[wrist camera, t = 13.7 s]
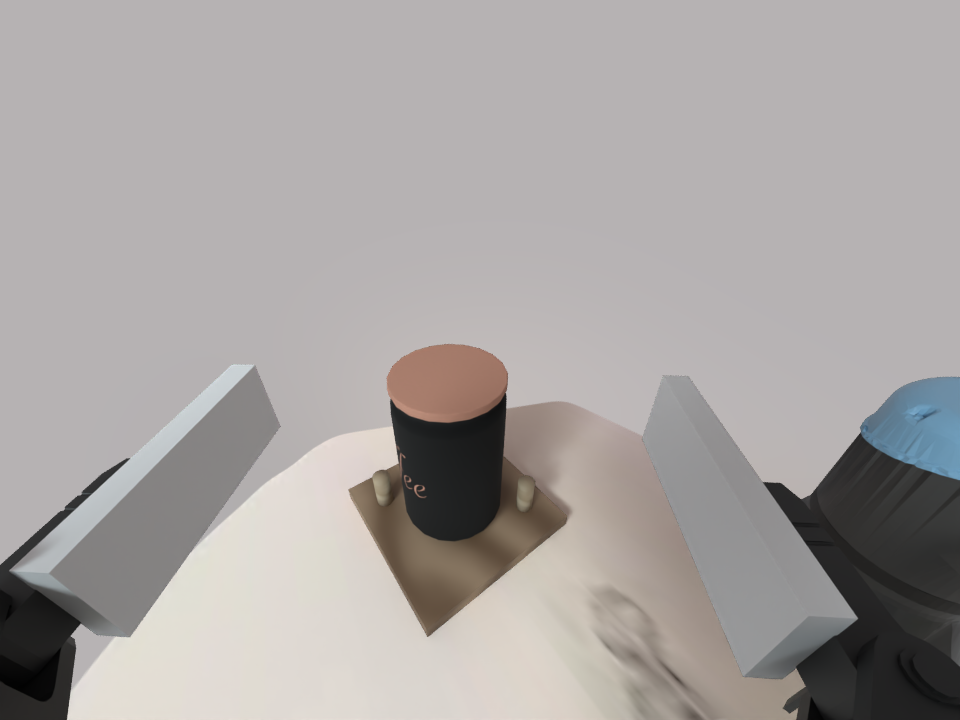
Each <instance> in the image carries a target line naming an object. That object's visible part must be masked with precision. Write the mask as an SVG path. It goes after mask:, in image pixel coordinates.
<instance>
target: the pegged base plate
mask: <svg viewBox="0 0 960 720" xmlns="http://www.w3.org/2000/svg"><path fill="white" fill-rule="evenodd" d="M349 493H350V496H351V499H352V501H353V502H354V504H355V506H356V508H357V510H358V511H359V513H360V515H361V517H362V519H363V521H364V522H365V524H366V526H367V528H368V530H369V531H370V533H371V535H372V537H373V539H374V540H375V542H376V544H377V546H378V548H379V550H380V551H381V553H382V555H383V557H384V559H385V560H386V562H387V564H388V566H389V568H390V570H391V571H392V573H393V575H394V577H395V579H396V580H397V582H398V584H399V586H400V588H401V589H402V591H403V593H404V595H405V597H406V599H407V600H408V602H409V604H410V606H411V608H412V609H413V611H414V613H415V615H416V617H417V618H418V620H419V622H420V624H421V626H422V628H423V629H424V631H425V633H426V635H427V637H428V636H430V635H431V634H432V633H433V632H434V631H436V630H437V629H438V628H439V627H440V626H442V625H443V624H444V623H445V622H447V621H448V620H449V619H450V618H451V617H453V616H454V615H455V614H456V613H458V612H459V611H460V610H461V609H462V608H464V607H465V606H466V605H467V604H469V603H470V602H471V601H472V600H473V599H475V598H476V597H477V596H478V595H479V594H481V593H482V592H483V591H484V590H486V589H487V588H488V587H489V586H490V585H492V584H493V583H494V582H495V581H497V580H498V579H499V578H500V577H501V576H503V575H504V574H505V573H506V572H507V571H509V570H510V569H511V568H512V567H514V566H515V565H516V564H517V563H518V562H520V561H521V560H522V559H523V558H525V557H526V556H527V555H528V554H529V553H531V552H532V551H533V550H534V549H535V548H537V547H538V546H539V545H540V544H542V543H543V542H544V541H545V540H546V539H548V538H549V537H550V536H551V535H553V534H554V533H555V532H556V531H557V530H559V529H560V528H561V527H562V526H564V525H565V524H566V519H567V515H566V514H565V513H564V512H563V511H561V510H560V509H559V508H558V507H557V506H556V505H555V504H554V503H553V502H552V501H551V500H550V499H549V498H548V497H547V496H545V495H544V494H543V493H542V492H541V491H540V490H539V489H538V488H537V487H536V486H535V481H534V479H533V478H532V477H530V476H527V475H525V476H524V475H523V474H522V473H521V472H520V471H519V470H518V469H517V468H516V467H515V466H513V465H512V464H511V463H510V462H509V461H508V460H507V459H506V458H505V457H504V456H503V466H502V482H501V498H500V507H499V509H498V511H497V514H496V516H495V518H494V519H493V521H492V522H491V523H490V524H489V525H488V526H487V527H486V528H485V529H484V530H483V531H482V532H480V533H478V534H476V535H475V536H473V537H471V538H468V539H464V540H459V541H455V542H454V541H442V540H437V539H435V538H432V537H430V536H427V535H425V534H424V533H423V532H421V531H420V530H419V529H418V528H417V527H416V526H415V525H414V524H413V523H412V521H411V519H410V517H409V515H408V513H407V511H406V505H405V498H404V492H403V486H402V480H401V473H400V467H399V464H397V465H395V466H393V467H391V468H389V469H387V470H379V471H377V472H375V473H374V474H373V477H372V478H370V479H368V480H366V481H364V482H362V483H360V484H358V485H356V486H354V487H353V488H351V489H349Z"/></svg>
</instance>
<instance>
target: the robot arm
mask: <svg viewBox="0 0 960 720" xmlns="http://www.w3.org/2000/svg"><path fill="white" fill-rule="evenodd" d="M279 428H280V424H279V422H278V419H277V417H276V414H275V412H274V409H273V407H272V405H271V402H270V400H269V398H268V395H267V393H266V390H265V388H264V385H263V383H262V381H261V379H260V376H259V374H258V371H257V369H256V366H255V365H235V364H232V365H231V366H230V367H229V368H228V369H227V370H226V371H225V372H224V373H223V374H222V375H221V376H219V378H217V379H216V380H215V381H214V382H213V383H212V384H211V385H210V386H209V387H207V389H205V390H204V391H203V392H202V393H201V394H200V395H199V396H198V397H197V398H196V399H194V401H192V402H191V403H190V404H189V405H188V406H187V407H186V408H185V409H184V410H183V411H182V412H180V413H179V414H178V415H177V416H176V417H175V418H174V419H173V420H172V421H171V422H170V423H169V424H168V425H166V426H165V427H164V428H163V429H162V430H161V431H160V432H159V433H158V434H157V435H156V436H154V437H153V438H152V439H151V440H150V441H149V442H148V443H147V444H146V445H145V446H144V447H143V448H141V449H140V450H139V451H138V452H137V453H136V454H135V455H134V456H133V457H132V458H131V459H130V458H129V459H125V460H124V461H122V462H120V463H119V464H117V465H116V466H114V467H112V468H111V469H109V470H107V471H106V472H104V473H103V474H101V475H100V476H99V477H98V478H97V479H96V480H95V481H93V482H92V483H91V484H90V485H89V486H88V487H87V488H86V489H85V490H83V492H82V495H80V496H77V497H76V498H75V499H74V500H72V501H71V502H70V503H69V504H68V505H67V506H66V507H65V510H64V511H60V512H59V513H58V514H57V515H56V516H54V517H53V518H52V519H51V520H50V521H49V522H48V523H47V524H45V525H44V526H43V527H42V528H41V529H40V530H39V531H38V532H37V533H35V534H34V535H33V536H32V537H31V538H30V539H29V540H28V541H27V542H25V543H24V545H22V546H21V547H20V548H19V549H18V550H17V551H15V552H14V553H13V554H12V555H11V556H10V557H9V558H8V559H6V560H5V561H4V562H3V563H2V564H1V565H0V720H67V714H68V707H69V699H70V691H71V683H72V675H73V668H74V660H75V652H76V645H75V639H74V638H72V637H71V635H72V633H73V632H74V631H75V630H76V628H77V627H78V626H79V625H80V624H83V625H84V626H85V627H87V628H88V629H89V630H91V631H92V632H93V633H95V634H96V635H104V636H118V637H130V636H131V635H132V634H133V632H134V631H135V629H136V628H137V627H138V625H139V624H140V622H141V621H142V620H143V618H144V617H145V615H146V614H147V613H148V611H149V610H150V608H151V607H152V606H153V604H154V603H155V601H156V600H157V599H158V597H159V596H160V594H161V593H162V592H163V590H164V589H165V587H166V586H167V585H168V583H169V582H170V580H171V579H172V578H173V576H174V575H175V573H176V572H177V571H178V569H179V568H180V566H181V565H182V564H183V562H184V561H185V559H186V558H187V557H188V555H189V554H190V552H191V551H192V550H193V548H194V547H195V545H196V544H197V542H198V541H199V540H200V538H201V537H202V536H203V534H204V533H205V531H206V530H207V529H208V527H209V526H210V524H211V523H212V521H213V520H214V519H215V517H216V516H217V515H218V513H219V512H220V510H221V509H222V508H223V506H224V505H225V503H226V502H227V500H228V499H229V498H230V496H231V495H232V494H233V492H234V491H235V489H236V488H237V487H238V485H239V484H240V482H241V481H242V480H243V478H244V477H245V476H246V474H247V472H248V471H249V470H250V469H251V467H252V465H253V464H254V463H255V462H256V460H257V459H258V457H259V456H260V455H261V453H262V452H263V450H264V449H265V448H266V446H267V445H268V443H269V442H270V440H271V439H272V437H273V436H274V435H275V434H276V432H277V431H278V429H279ZM860 429H861V433H860V434H859V435H858V436H857V438H856V439H855V440H854V442H853V443H852V444H851V445H850V446H849V448H848V449H847V450H846V452H845V453H844V454H843V455H842V457H841V458H840V459H839V460H838V462H837V463H836V464H835V465H834V467H833V468H832V469H831V470H830V471H829V473H828V474H827V475H826V476H825V478H824V479H823V480H822V482H821V483H820V484H819V486H818V487H817V488H816V489H815V490H814V492H813V493H812V494H811V495H810V496H807V497H805V498H803V499H800V498H798V497H797V496H796V495H795V494H793V493H792V492H791V491H790V490H789V489H787V488H786V487H785V486H784V485H783V484H781V483H768V482H762V481H761V479H760V478H759V476H758V475H757V474H756V472H755V471H754V469H753V468H752V466H751V465H750V464H749V462H748V461H747V459H746V458H745V456H744V455H743V454H742V452H741V451H740V449H739V448H738V446H737V445H736V444H735V442H734V441H733V439H732V438H731V436H730V435H729V434H728V432H727V431H726V429H725V428H724V426H723V425H722V424H721V422H720V421H719V419H718V418H717V416H716V415H715V414H714V412H713V411H712V409H711V408H710V407H709V405H708V404H707V402H706V401H705V399H704V398H703V397H702V395H701V394H700V392H699V391H698V389H697V388H696V386H695V385H694V384H693V382H692V381H691V379H690V378H689V377H688V376H663V377H662V381H661V383H660V387H659V390H658V393H657V396H656V399H655V402H654V405H653V408H652V411H651V414H650V417H649V420H648V423H647V426H646V429H645V432H644V435H643V438H642V439H643V442H644V444H645V446H646V449H647V451H648V454H649V456H650V458H651V461H652V463H653V465H654V468H655V470H656V472H657V475H658V477H659V479H660V482H661V484H662V487H663V489H664V491H665V494H666V496H667V498H668V501H669V503H670V505H671V508H672V510H673V513H674V515H675V517H676V520H677V522H678V524H679V527H680V529H681V531H682V534H683V536H684V539H685V541H686V543H687V546H688V548H689V550H690V553H691V555H692V557H693V560H694V562H695V564H696V567H697V569H698V572H699V574H700V576H701V579H702V581H703V583H704V586H705V588H706V590H707V593H708V595H709V598H710V600H711V602H712V605H713V607H714V609H715V612H716V614H717V616H718V619H719V621H720V623H721V626H722V628H723V631H724V633H725V635H726V638H727V640H728V642H729V645H730V647H731V649H732V652H733V654H734V657H735V659H736V661H737V664H738V666H739V668H740V671H741V673H742V675H743V677H753V678H769V679H783V678H785V677H786V676H787V675H788V674H790V673H791V672H792V671H793V670H795V669H796V668H797V670H798V672H799V674H800V676H801V678H802V680H803V682H804V683H805V685H806V687H805V688H803V689H802V690H800V691H799V692H798V693H796V694H795V695H793V696H792V697H791V698H789V699H788V700H787V702H786V704H785V706H784V707H783V709H785V710H786V711H787V712H788V713H791V712H792V711H794V710H795V709H797V708H798V707H799V708H798V714H797V720H960V377H937V378H928V379H924V380H919V381H915V382H912V383H909V384H907V385H905V386H903V387H901V388H899V389H898V390H896V391H895V392H894V393H893V394H892V395H891V396H890V397H889V398H888V399H887V400H886V402H885V403H884V404H883V405H882V406H881V407H880V408H879V409H878V411H876V412H875V413H874V414H872V415H871V416H869V417H868V418H866V419H865V421H864V422H863V423H862V425H861V427H860Z"/></svg>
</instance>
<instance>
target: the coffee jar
mask: <svg viewBox="0 0 960 720" xmlns="http://www.w3.org/2000/svg"><path fill="white" fill-rule="evenodd" d="M507 382H508V373H507V371H506V369H505V367H504V365H503V363H502V362H501V361H500V360H499V359H497V358H496V357H495V356H494V355H493V354H491V353H488V352H486V351H484V350H482V349H480V348H475V347H471V346H466V345H455V344H444V345H436V346H429V347H426V348H422V349H419V350H415V351H414V352H412V353H410V354H408V355H406V356H404V357H402V358H401V359H400V360H399V361H398V362H397V363H395V364H394V365H393V366H392V368H391V370H390V372H389V374H388V376H387V390H388V394H389V396H390V398H391V401H390V405H391V417H392V423H393V429H394V436H395V442H396V448H397V455H398V461H399V467H400V473H401V480H402V486H403V492H404V498H405V505H406V511H407V513H408V515H409V517H410V519H411V521H412V523H413V524H414V525H415V526H416V527H417V528H418V529H419V530H420V531H421V532H423V533H424V534H425V535H427V536H430V537H432V538H435V539H437V540H442V541H454V542H455V541H459V540H464V539H468V538H471V537H473V536H475V535H476V534H478V533H480V532H482V531H483V530H484V529H485V528H486V527H487V526H488V525H489V524H490V523H491V522H492V521H493V519H494V518H495V516H496V514H497V511H498V509H499V507H500V498H501V482H502V466H503V450H504V435H505V419H506V393H505V392H506V390H507Z"/></svg>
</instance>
